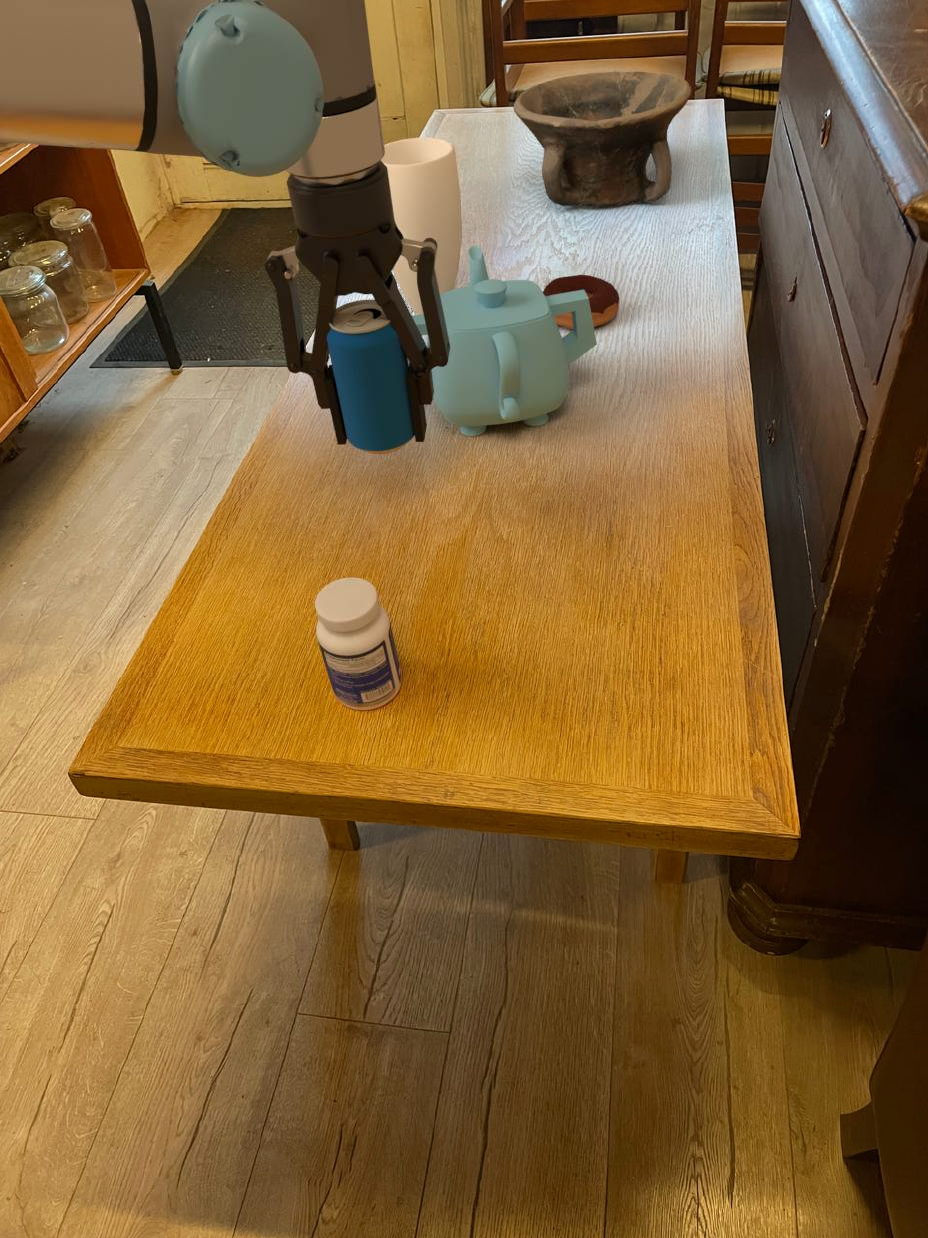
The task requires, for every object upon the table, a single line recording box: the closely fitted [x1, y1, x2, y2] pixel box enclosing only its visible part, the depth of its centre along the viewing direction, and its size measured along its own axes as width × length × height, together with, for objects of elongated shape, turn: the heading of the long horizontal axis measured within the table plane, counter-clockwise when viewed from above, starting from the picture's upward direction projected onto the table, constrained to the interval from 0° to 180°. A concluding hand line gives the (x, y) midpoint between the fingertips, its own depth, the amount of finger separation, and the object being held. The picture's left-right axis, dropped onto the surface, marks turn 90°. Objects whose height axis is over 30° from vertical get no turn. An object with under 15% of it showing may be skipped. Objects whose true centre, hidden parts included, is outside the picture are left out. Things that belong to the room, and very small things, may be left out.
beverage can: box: [327, 299, 415, 455], centre depth 77 cm, size 6×6×12 cm
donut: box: [542, 274, 620, 330], centre depth 113 cm, size 10×10×4 cm
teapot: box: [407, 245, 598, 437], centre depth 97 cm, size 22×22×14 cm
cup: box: [381, 137, 463, 315], centre depth 108 cm, size 10×10×22 cm
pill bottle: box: [314, 576, 403, 711], centre depth 69 cm, size 6×6×10 cm
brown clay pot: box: [512, 70, 692, 207], centre depth 139 cm, size 27×26×15 cm
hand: (382, 434), depth 81 cm, fingers closed on beverage can, 6 cm apart
